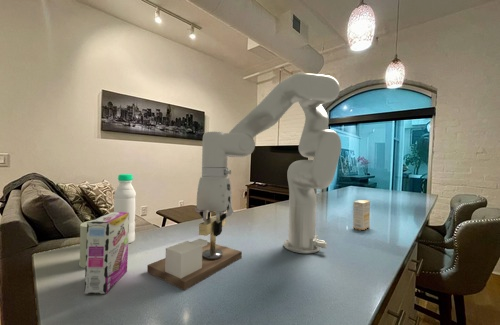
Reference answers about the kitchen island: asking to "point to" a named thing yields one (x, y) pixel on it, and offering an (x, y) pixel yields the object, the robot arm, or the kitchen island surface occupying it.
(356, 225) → the supplement box
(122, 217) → the candy bar box
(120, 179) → the water bottle
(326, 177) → the robot arm
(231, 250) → the panel
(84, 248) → the can
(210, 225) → the t key
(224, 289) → the kitchen island surface
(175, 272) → the cream stepped block
